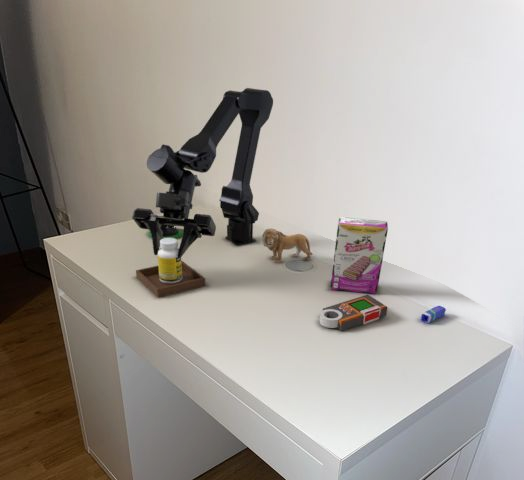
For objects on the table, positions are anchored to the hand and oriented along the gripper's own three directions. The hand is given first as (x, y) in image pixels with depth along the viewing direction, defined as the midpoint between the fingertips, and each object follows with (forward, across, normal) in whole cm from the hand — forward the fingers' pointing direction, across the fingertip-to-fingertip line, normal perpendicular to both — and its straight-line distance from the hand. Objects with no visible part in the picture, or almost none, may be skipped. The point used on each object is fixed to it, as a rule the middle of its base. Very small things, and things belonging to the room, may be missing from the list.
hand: (167, 256), depth 124 cm
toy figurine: (-17, -13, +28) cm, 35 cm away
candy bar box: (-2, +43, +12) cm, 45 cm away
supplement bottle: (+4, 0, +6) cm, 7 cm away
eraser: (+6, +61, +5) cm, 61 cm away
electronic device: (+9, +43, +1) cm, 44 cm away
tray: (+4, 0, +6) cm, 7 cm away
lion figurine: (-10, +24, +21) cm, 34 cm away
